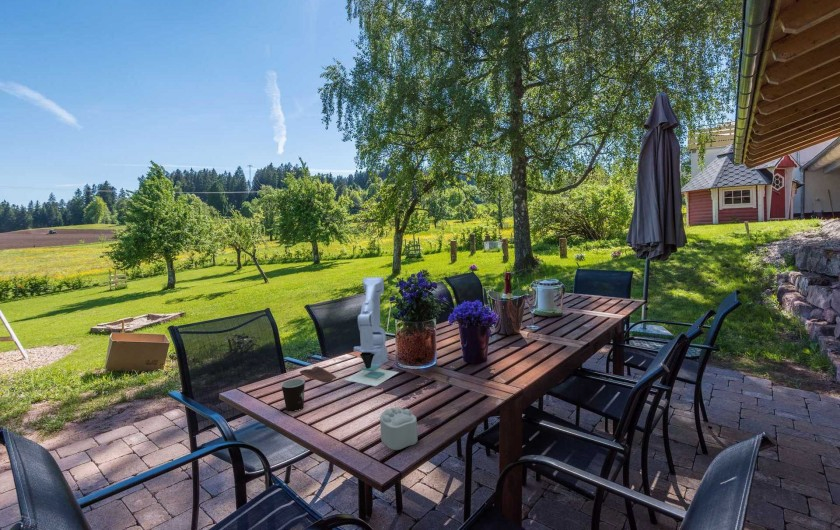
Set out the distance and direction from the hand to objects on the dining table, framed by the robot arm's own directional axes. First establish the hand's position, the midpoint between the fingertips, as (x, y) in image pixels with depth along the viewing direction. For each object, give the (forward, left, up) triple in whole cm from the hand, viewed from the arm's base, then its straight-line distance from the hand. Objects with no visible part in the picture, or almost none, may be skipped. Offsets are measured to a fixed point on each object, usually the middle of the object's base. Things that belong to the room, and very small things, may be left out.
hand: (368, 367), depth 178 cm
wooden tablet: (+8, -22, -5) cm, 24 cm away
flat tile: (-7, -4, -4) cm, 9 cm away
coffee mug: (+36, -7, -5) cm, 37 cm away
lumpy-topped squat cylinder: (+38, +41, -5) cm, 56 cm away
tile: (0, 0, -3) cm, 3 cm away
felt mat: (-1, +1, -4) cm, 5 cm away
